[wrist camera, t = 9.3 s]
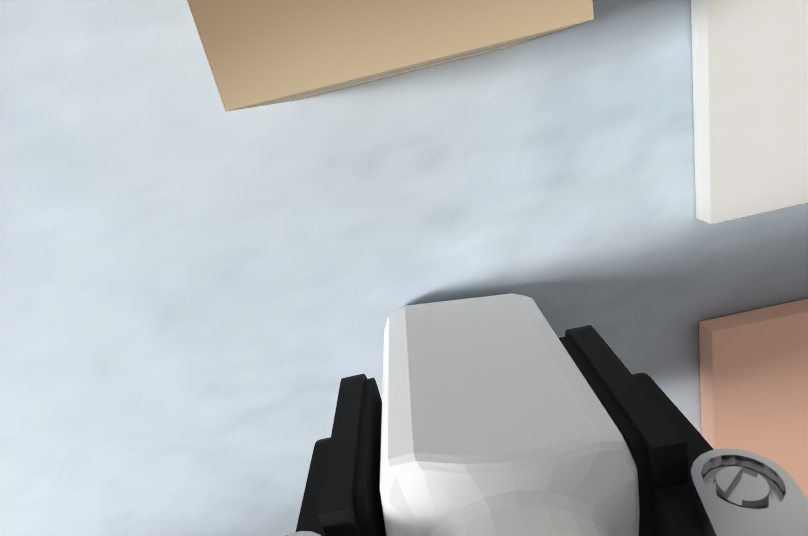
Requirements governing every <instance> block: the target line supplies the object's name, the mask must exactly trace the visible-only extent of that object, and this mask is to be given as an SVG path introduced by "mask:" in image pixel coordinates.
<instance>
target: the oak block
mask: <svg viewBox="0 0 808 536" xmlns="http://www.w3.org/2000/svg"><path fill="white" fill-rule="evenodd" d="M187 1H188V4H189V7H190V10H191V13H192V15H193V18H194V21H195V24H196V27H197V30H198V33H199V36H200V39H201V42H202V44H203V47H204V50H205V53H206V56H207V59H208V62H209V65H210V68H211V71H212V73H213V76H214V79H215V82H216V85H217V88H218V91H219V94H220V97H221V100H222V102H223V105H224V108H225V111H231V110H238V109H244V108H250V107H257V106H263V105H269V104H276V103H282V102H288V101H294V100H298V99H302V98H306V97H310V96H314V95H318V94H323V93H327V92H331V91H335V90H339V89H343V88H347V87H351V86H355V85H359V84H363V83H367V82H371V81H375V80H379V79H383V78H387V77H391V76H395V75H399V74H403V73H407V72H411V71H415V70H419V69H423V68H427V67H431V66H435V65H439V64H443V63H447V62H451V61H455V60H459V59H463V58H467V57H471V56H475V55H479V54H483V53H487V52H491V51H495V50H499V49H503V48H507V47H511V46H514V45H517V44H520V43H523V42H526V41H529V40H532V39H535V38H538V37H541V36H544V35H547V34H550V33H554V32H557V31H560V30H563V29H566V28H569V27H572V26H575V25H578V24H581V23H584V22H587V21H590V20H593V19H594V13H593V1H592V0H187Z"/></svg>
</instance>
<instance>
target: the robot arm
mask: <svg viewBox="0 0 808 536" xmlns="http://www.w3.org/2000/svg"><path fill="white" fill-rule="evenodd" d="M559 340H560V341H561V343H562V344H563V346H564V348H565V349H566V351H567V352H568V354H569V355H570V357H571V358H572V360H573V361H574V363H575V364H576V366H577V367H578V369H579V370H580V372H581V373H582V375H583V376H584V378H585V379H586V381H587V382H588V384H589V386H590V387H591V389H592V390H593V392H594V393H595V395H596V396H597V398H598V399H599V401H600V402H601V404H602V405H603V407H604V408H605V410H606V411H607V413H608V414H609V416H610V417H611V419H612V420H613V422H614V424H615V425H616V427H617V428H618V430H619V431H620V433H621V434H622V436H623V438H624V440H625V442H626V444H627V446H628V447H629V449H630V451H631V454H632V457H633V459H634V462H635V464H636V468H637V473H638V491H639V536H808V499H807V498H806V497H805V495H804V494H803V492H802V491H801V489H800V488H799V486H798V485H797V483H796V482H795V481H794V479H793V478H792V477H791V476H790V475H789V474H788V472H787V471H786V470H785V469H784V468H782V467H781V466H779V465H778V464H776V463H775V462H774V461H772V460H770V459H768V458H766V457H764V456H761V455H759V454H757V453H753V452H749V451H745V450H741V449H728V448H723V449H716V450H714V449H713V448H712V447H711V446H710V444H709V443H708V442H707V441H706V440H705V439H704V438H703V436H702V435H701V434H700V433H699V432H698V431H697V430H696V429H695V427H694V426H693V425H692V424H691V423H690V422H689V421H688V419H687V418H686V417H685V416H684V415H683V414H682V413H681V412H680V410H679V409H678V408H677V407H676V406H675V405H674V404H673V402H672V401H671V400H670V399H669V398H668V397H667V396H666V395H665V393H664V392H663V391H662V390H661V389H660V388H659V387H658V385H657V384H656V383H655V382H654V381H653V380H652V379H651V377H649V376H648V375H647V374H646V373H638V374H633V375H632V374H631V373H630V372H629V370H628V369H627V368H626V367H625V366H624V364H623V363H622V362H621V361H620V360H619V358H618V357H617V356H616V355H615V353H614V352H613V351H612V350H611V349H610V347H609V346H608V345H607V344H606V343H605V341H604V340H603V339H602V338H601V337H600V335H599V334H598V333H597V332H596V330H595V329H594V328H593V327H592V326H591V325H588V326H583V327H579V328H574V329H569V330H566V333H565V337H562V338H559ZM381 428H382V400H381V397H380V394H379V390H378V387H377V384H376V381H375V379H374V378H371V379H367V377H366V375H365V374H360V375H356V376H351V377H346V378H342V379H341V383H340V389H339V394H338V400H337V406H336V412H335V417H334V423H333V429H332V434H331V437H330V438H326V439H321V440H318V441H317V442H316V443H315V446H314V450H313V455H312V459H311V464H310V469H309V473H308V478H307V483H306V487H305V492H304V496H303V501H302V506H301V510H300V515H299V519H298V524H297V529H296V532H295V533H291V534H288V535H286V536H386V531H385V523H384V516H383V508H382V501H381V493H380V462H381Z"/></svg>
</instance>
